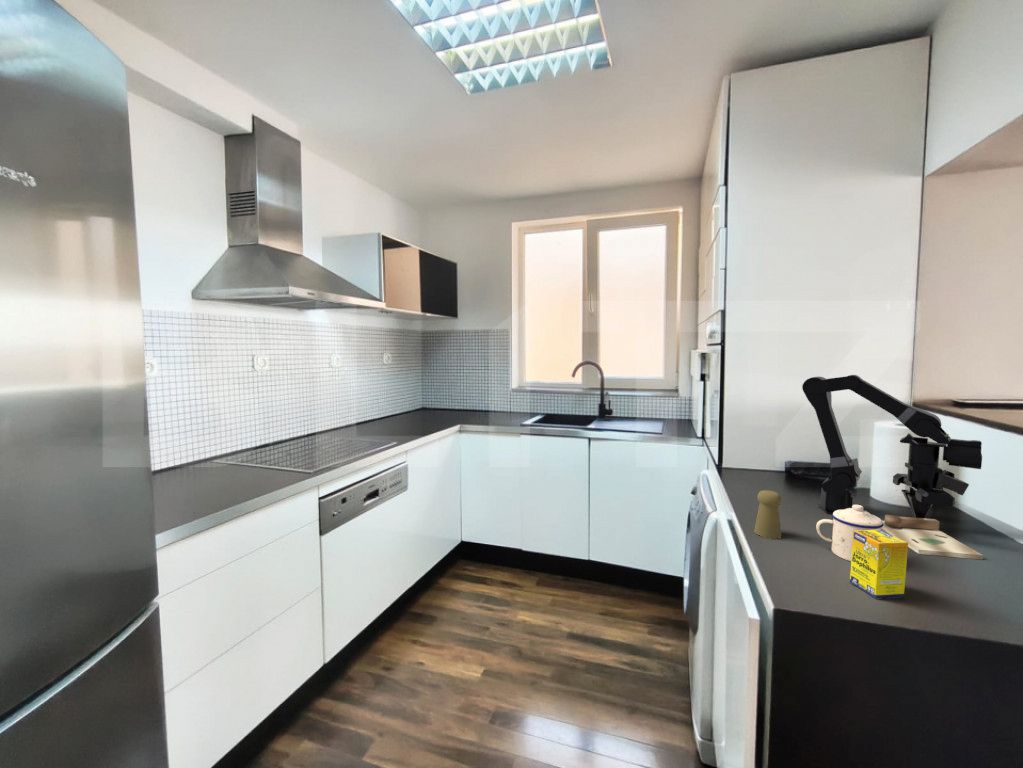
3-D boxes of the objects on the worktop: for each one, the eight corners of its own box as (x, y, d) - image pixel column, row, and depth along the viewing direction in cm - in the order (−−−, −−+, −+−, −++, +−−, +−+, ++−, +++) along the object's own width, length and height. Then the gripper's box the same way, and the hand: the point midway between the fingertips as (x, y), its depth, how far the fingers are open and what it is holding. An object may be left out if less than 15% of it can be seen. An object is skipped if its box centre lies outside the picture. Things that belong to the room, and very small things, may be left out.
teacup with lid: (877, 552, 102) (880, 503, 101) (884, 569, 94) (888, 516, 93) (814, 541, 108) (816, 494, 107) (816, 555, 100) (818, 505, 99)
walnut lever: (889, 526, 113) (889, 518, 113) (881, 522, 116) (882, 513, 116) (941, 530, 110) (941, 522, 110) (932, 525, 114) (933, 517, 113)
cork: (785, 540, 109) (787, 496, 108) (758, 538, 110) (760, 494, 109) (776, 530, 114) (778, 488, 114) (750, 528, 116) (752, 487, 115)
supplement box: (848, 583, 89) (852, 530, 88) (876, 581, 89) (879, 529, 88) (875, 599, 83) (879, 543, 82) (905, 598, 83) (909, 541, 82)
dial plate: (918, 553, 101) (918, 549, 101) (874, 523, 119) (874, 519, 119) (982, 559, 98) (983, 554, 98) (927, 527, 116) (928, 523, 116)
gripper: (986, 474, 102) (981, 540, 103) (945, 456, 119) (941, 513, 120) (924, 469, 107) (920, 532, 108) (893, 453, 124) (890, 507, 125)
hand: (919, 520), depth 115 cm, fingers closed
